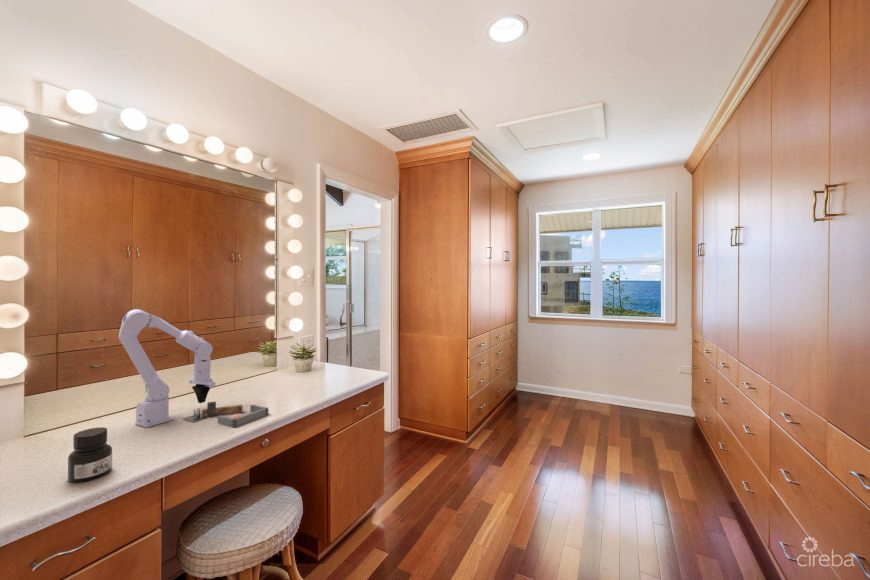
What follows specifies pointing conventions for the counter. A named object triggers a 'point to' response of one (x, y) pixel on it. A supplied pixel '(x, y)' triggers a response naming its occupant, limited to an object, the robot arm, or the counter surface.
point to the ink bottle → (89, 455)
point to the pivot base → (196, 416)
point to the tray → (244, 417)
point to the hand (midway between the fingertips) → (201, 402)
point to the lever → (220, 409)
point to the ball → (235, 416)
